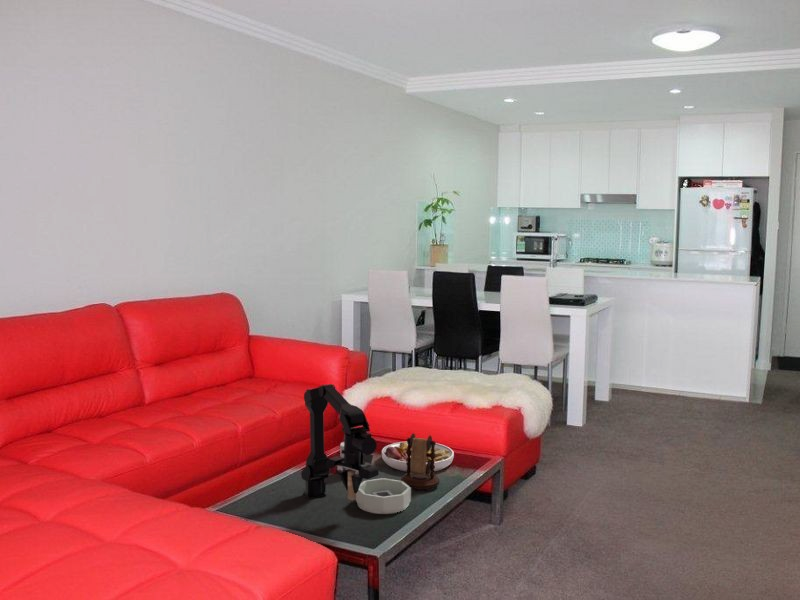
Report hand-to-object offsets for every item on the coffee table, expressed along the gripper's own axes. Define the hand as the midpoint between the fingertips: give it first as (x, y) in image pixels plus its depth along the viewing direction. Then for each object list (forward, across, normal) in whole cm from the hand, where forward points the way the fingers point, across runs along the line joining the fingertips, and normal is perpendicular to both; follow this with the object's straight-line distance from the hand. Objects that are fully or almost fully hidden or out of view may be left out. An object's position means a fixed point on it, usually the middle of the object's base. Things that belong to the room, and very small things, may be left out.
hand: (352, 491), depth 254 cm
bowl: (+10, +18, -62) cm, 65 cm away
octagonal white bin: (+9, 0, -17) cm, 19 cm away
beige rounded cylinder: (+2, 0, 0) cm, 2 cm away
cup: (+9, +30, -33) cm, 46 cm away
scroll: (+10, +1, -41) cm, 42 cm away
